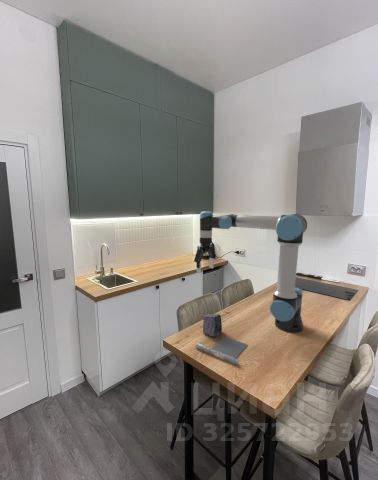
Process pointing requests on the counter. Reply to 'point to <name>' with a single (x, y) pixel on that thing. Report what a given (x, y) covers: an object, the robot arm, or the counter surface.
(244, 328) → the counter surface
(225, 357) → the rail
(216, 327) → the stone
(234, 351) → the mat
